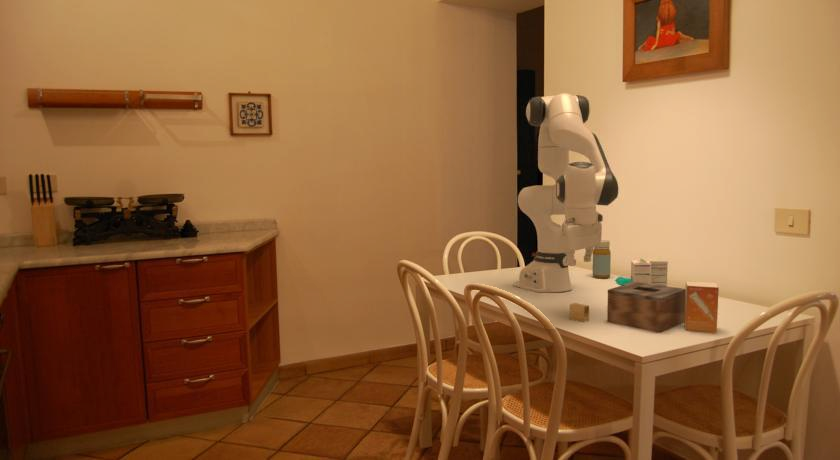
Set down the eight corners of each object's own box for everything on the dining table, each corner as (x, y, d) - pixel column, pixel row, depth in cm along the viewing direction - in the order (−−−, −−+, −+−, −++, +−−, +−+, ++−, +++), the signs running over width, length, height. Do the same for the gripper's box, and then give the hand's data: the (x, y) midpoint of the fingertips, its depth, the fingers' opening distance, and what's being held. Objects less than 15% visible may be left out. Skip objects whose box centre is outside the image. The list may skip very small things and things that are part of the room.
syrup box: (651, 306, 191) (652, 262, 189) (632, 306, 192) (633, 262, 191) (648, 302, 197) (649, 260, 195) (629, 301, 198) (630, 259, 196)
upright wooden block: (569, 320, 176) (569, 304, 176) (574, 318, 178) (574, 302, 178) (584, 323, 173) (584, 307, 172) (588, 322, 174) (589, 305, 174)
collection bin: (607, 322, 173) (607, 289, 172) (633, 312, 184) (634, 281, 182) (659, 333, 161) (660, 298, 160) (685, 322, 172) (686, 289, 171)
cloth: (654, 294, 211) (654, 288, 211) (614, 292, 215) (614, 286, 215) (647, 280, 236) (647, 274, 236) (611, 279, 240) (611, 273, 240)
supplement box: (638, 291, 213) (639, 257, 211) (659, 291, 212) (660, 257, 211) (646, 296, 205) (646, 261, 204) (667, 296, 205) (668, 260, 204)
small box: (685, 330, 163) (686, 285, 162) (683, 325, 169) (685, 280, 168) (717, 333, 160) (719, 287, 159) (714, 327, 166) (716, 282, 165)
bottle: (593, 278, 239) (594, 242, 237) (591, 275, 246) (592, 239, 244) (611, 278, 238) (612, 242, 236) (608, 275, 244) (609, 239, 243)
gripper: (572, 220, 162) (572, 269, 163) (605, 215, 177) (605, 260, 178) (552, 219, 166) (552, 267, 168) (586, 214, 181) (586, 258, 183)
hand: (579, 263), depth 173 cm, fingers open, 8 cm apart
